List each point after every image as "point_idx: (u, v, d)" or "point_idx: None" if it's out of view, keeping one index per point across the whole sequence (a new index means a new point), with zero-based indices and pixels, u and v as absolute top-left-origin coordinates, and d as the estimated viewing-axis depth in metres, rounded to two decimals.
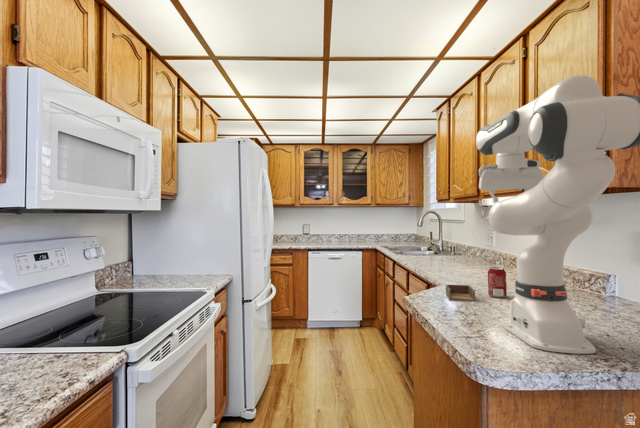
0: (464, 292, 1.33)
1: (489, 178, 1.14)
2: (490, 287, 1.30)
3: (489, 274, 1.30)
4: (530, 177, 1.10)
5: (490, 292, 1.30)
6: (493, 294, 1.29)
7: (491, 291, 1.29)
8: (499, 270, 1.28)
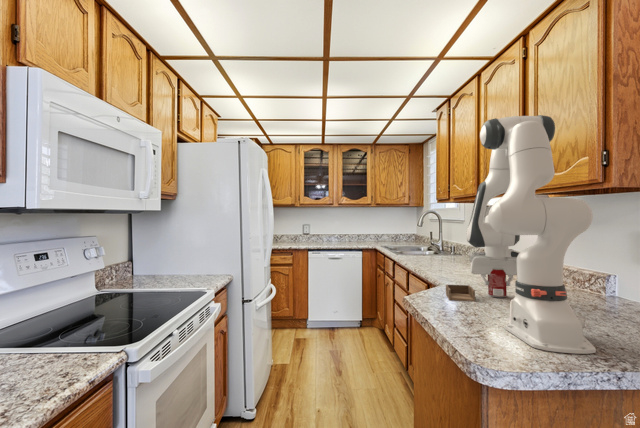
0: (464, 292, 1.33)
1: (479, 264, 1.31)
2: (490, 287, 1.30)
3: None
4: (514, 265, 1.28)
5: (490, 292, 1.30)
6: (493, 294, 1.29)
7: (491, 291, 1.29)
8: (499, 270, 1.28)
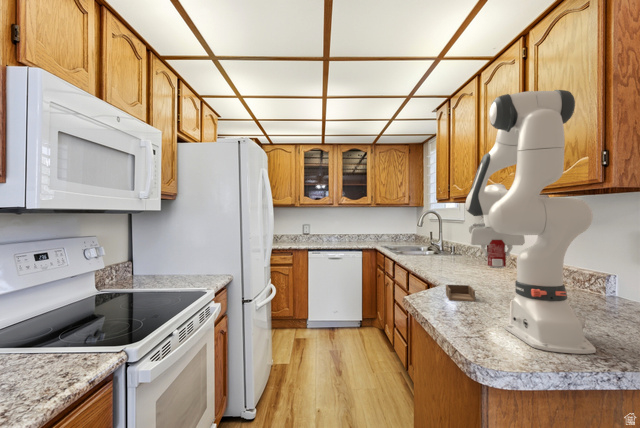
0: (464, 292, 1.33)
1: (478, 235, 1.31)
2: (489, 258, 1.30)
3: (488, 245, 1.30)
4: (513, 235, 1.28)
5: (490, 263, 1.29)
6: (492, 264, 1.28)
7: (490, 262, 1.29)
8: (498, 240, 1.28)
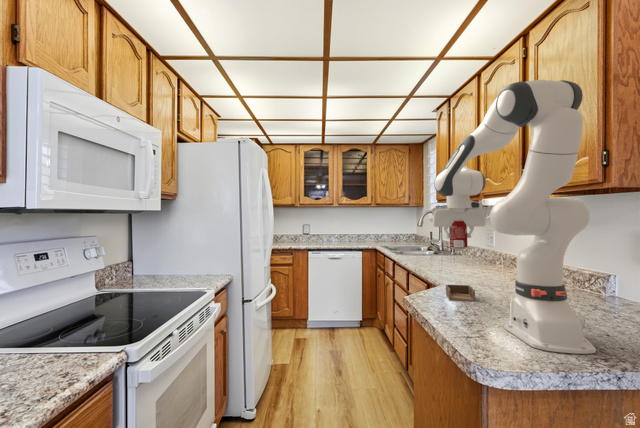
0: (464, 292, 1.33)
1: (440, 216, 1.30)
2: (451, 239, 1.29)
3: None
4: (475, 216, 1.27)
5: (451, 244, 1.29)
6: (454, 246, 1.28)
7: (452, 243, 1.29)
8: (459, 221, 1.27)
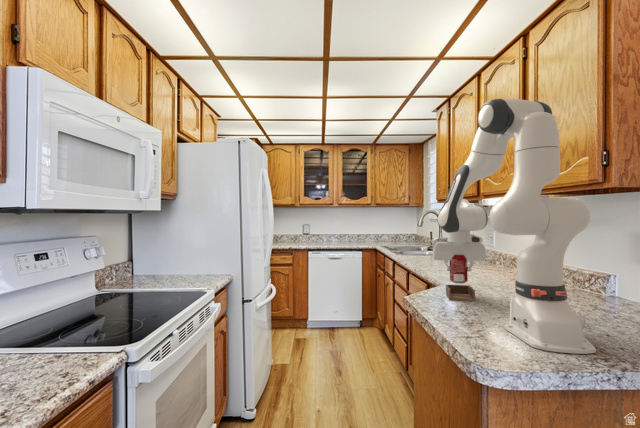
0: (464, 292, 1.33)
1: (440, 249, 1.30)
2: (451, 273, 1.29)
3: (450, 260, 1.30)
4: (475, 251, 1.27)
5: (452, 277, 1.29)
6: (454, 279, 1.28)
7: (452, 277, 1.29)
8: (460, 255, 1.27)
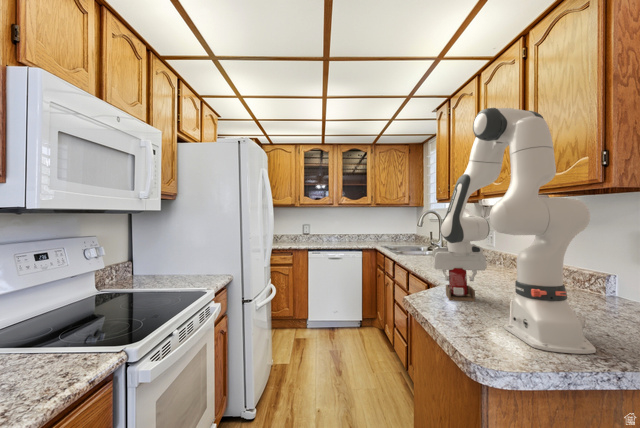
0: None
1: (441, 259, 1.30)
2: (451, 286, 1.29)
3: (450, 273, 1.30)
4: (475, 260, 1.27)
5: (451, 291, 1.29)
6: (454, 293, 1.28)
7: (452, 290, 1.29)
8: (459, 268, 1.28)
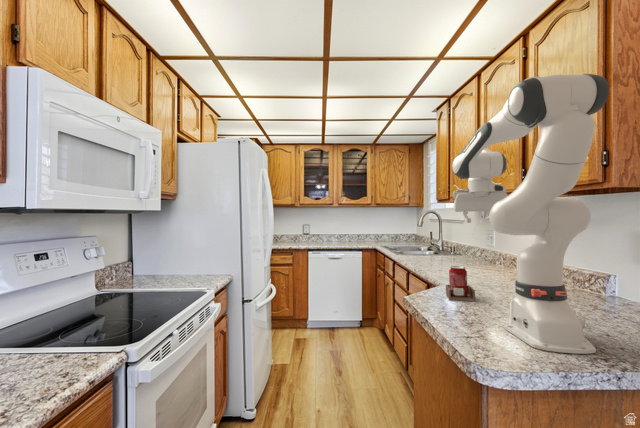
0: None
1: (462, 201, 1.27)
2: (451, 286, 1.29)
3: (450, 273, 1.29)
4: (498, 200, 1.24)
5: (451, 291, 1.29)
6: (454, 293, 1.28)
7: (452, 291, 1.28)
8: (459, 269, 1.27)
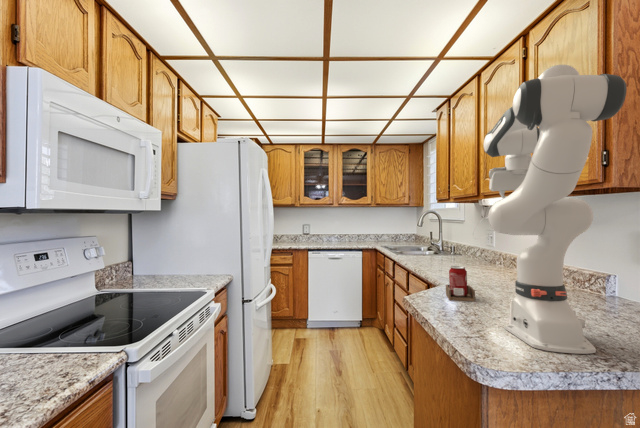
0: None
1: (499, 179, 1.22)
2: (451, 286, 1.29)
3: (450, 273, 1.29)
4: None
5: (451, 291, 1.29)
6: (454, 293, 1.28)
7: (452, 291, 1.28)
8: (459, 269, 1.27)
